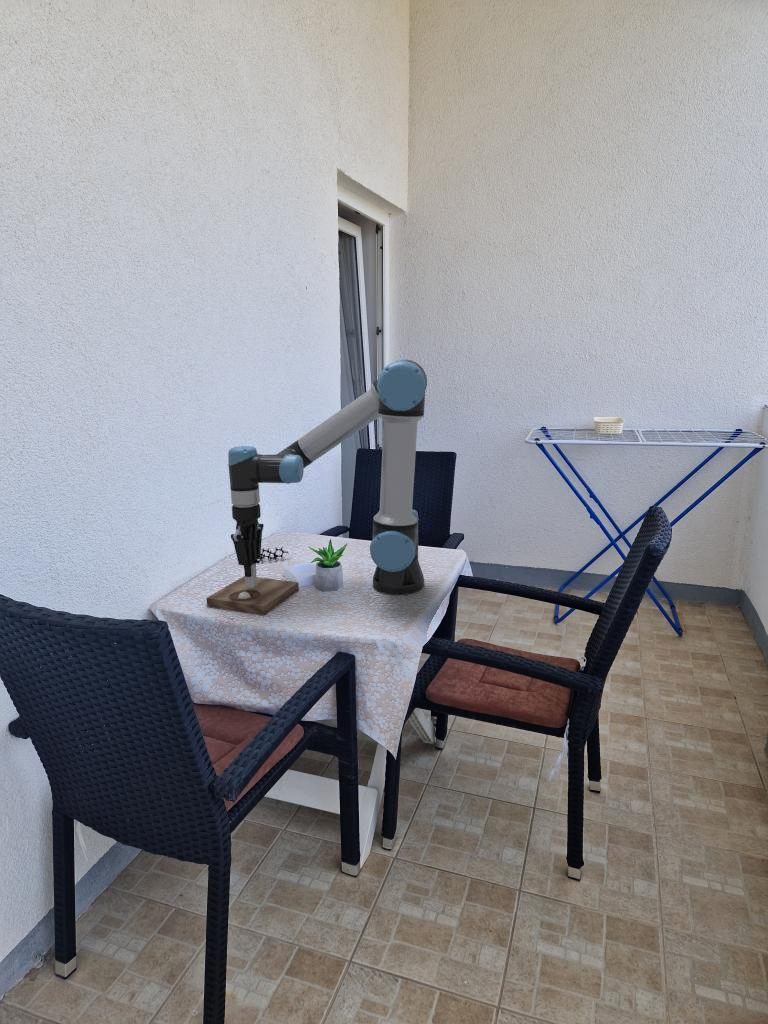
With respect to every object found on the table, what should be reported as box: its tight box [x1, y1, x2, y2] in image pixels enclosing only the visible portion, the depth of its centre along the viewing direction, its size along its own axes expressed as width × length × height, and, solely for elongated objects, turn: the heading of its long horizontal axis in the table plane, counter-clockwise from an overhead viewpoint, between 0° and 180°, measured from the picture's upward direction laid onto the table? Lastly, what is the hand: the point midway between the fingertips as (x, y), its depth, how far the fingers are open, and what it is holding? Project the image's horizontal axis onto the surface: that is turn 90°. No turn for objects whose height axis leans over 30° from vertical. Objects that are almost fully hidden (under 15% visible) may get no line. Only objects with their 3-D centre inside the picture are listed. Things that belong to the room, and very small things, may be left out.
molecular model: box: [258, 546, 290, 563], centre depth 214 cm, size 6×15×8 cm, turn 110°
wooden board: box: [206, 575, 300, 616], centre depth 183 cm, size 18×19×2 cm
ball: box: [238, 592, 251, 599], centre depth 179 cm, size 4×4×4 cm
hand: (251, 586), depth 181 cm, fingers closed
